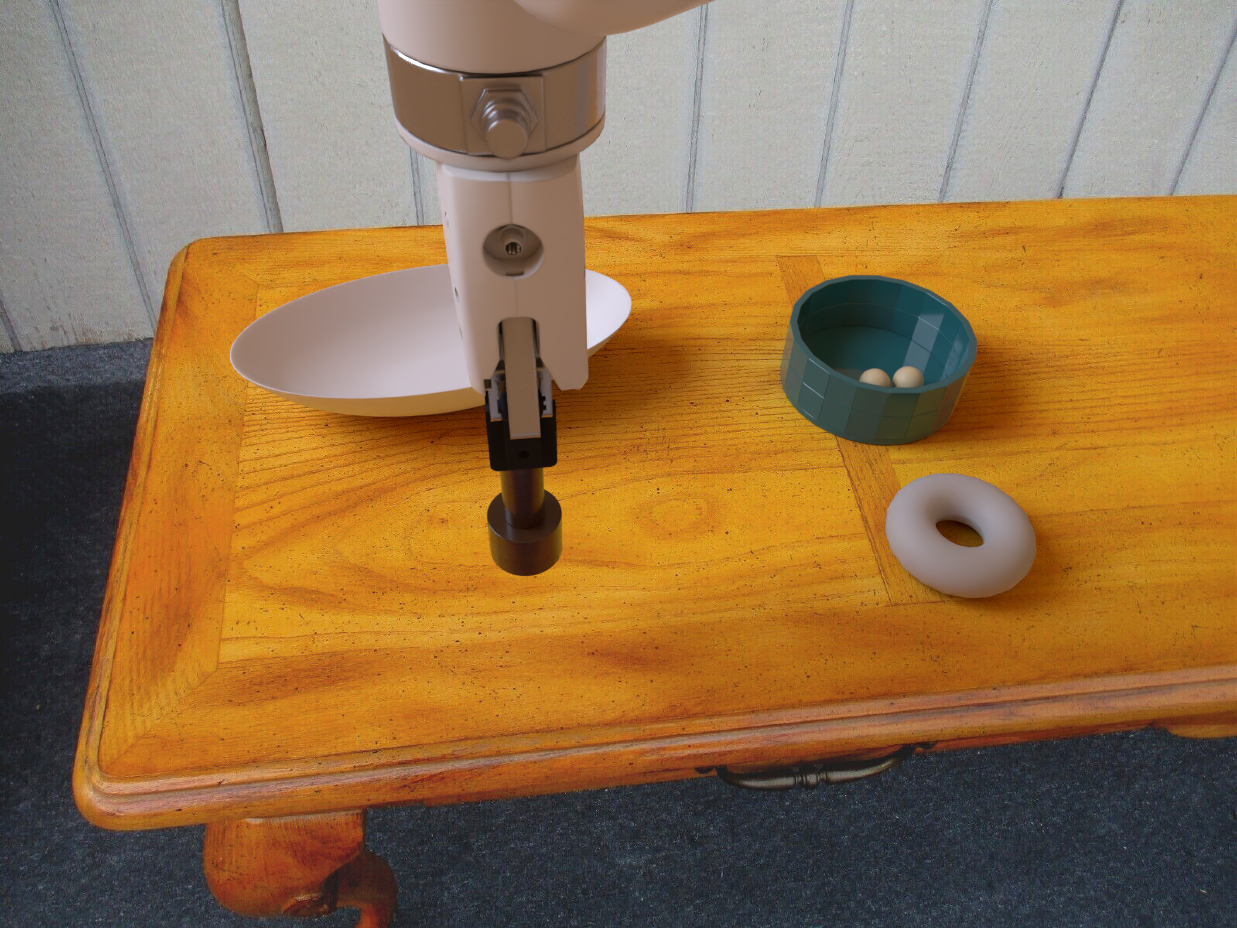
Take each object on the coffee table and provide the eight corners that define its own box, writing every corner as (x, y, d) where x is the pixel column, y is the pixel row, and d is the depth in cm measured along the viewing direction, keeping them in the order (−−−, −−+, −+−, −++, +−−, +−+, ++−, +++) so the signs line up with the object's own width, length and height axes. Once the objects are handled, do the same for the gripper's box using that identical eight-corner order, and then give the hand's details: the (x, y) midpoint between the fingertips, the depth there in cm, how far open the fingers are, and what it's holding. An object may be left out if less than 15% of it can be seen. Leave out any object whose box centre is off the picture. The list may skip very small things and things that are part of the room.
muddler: (576, 553, 53) (576, 362, 43) (516, 588, 51) (501, 399, 41) (535, 508, 55) (526, 316, 45) (476, 541, 53) (452, 349, 43)
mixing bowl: (992, 395, 77) (1015, 342, 73) (874, 473, 71) (892, 420, 67) (860, 306, 84) (874, 254, 80) (743, 370, 78) (752, 317, 74)
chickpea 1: (894, 365, 74) (898, 395, 75) (869, 365, 76) (873, 395, 77) (875, 372, 73) (879, 402, 73) (850, 372, 75) (854, 402, 75)
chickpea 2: (919, 389, 77) (924, 401, 74) (889, 389, 77) (893, 401, 75) (922, 361, 75) (928, 373, 73) (891, 361, 76) (896, 373, 74)
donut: (850, 527, 67) (950, 631, 61) (859, 495, 65) (965, 600, 59) (954, 477, 71) (1058, 571, 65) (967, 444, 68) (1077, 538, 62)
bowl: (603, 300, 84) (605, 241, 79) (653, 415, 74) (658, 356, 70) (249, 353, 78) (229, 293, 73) (253, 487, 68) (230, 426, 64)
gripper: (640, 198, 28) (620, 566, 42) (579, -15, 39) (579, 333, 53) (384, 211, 27) (447, 583, 41) (393, -11, 38) (441, 343, 52)
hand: (521, 440), depth 47 cm, fingers closed on muddler, 2 cm apart
